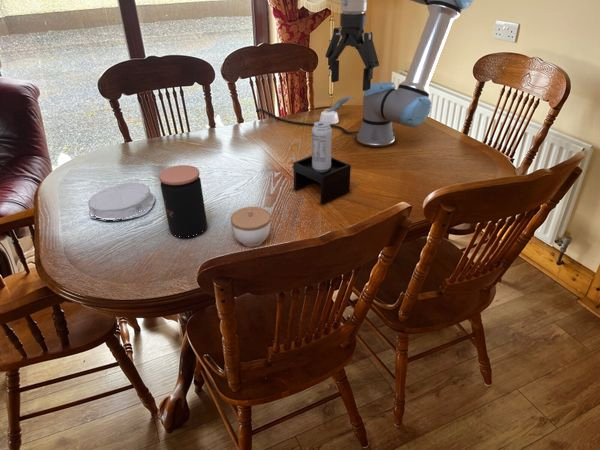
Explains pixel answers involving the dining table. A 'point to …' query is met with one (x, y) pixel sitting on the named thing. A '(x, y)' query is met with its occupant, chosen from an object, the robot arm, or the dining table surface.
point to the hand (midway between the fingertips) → (350, 85)
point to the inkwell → (333, 111)
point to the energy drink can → (321, 146)
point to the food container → (121, 201)
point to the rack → (323, 178)
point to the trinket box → (251, 225)
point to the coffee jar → (183, 201)
